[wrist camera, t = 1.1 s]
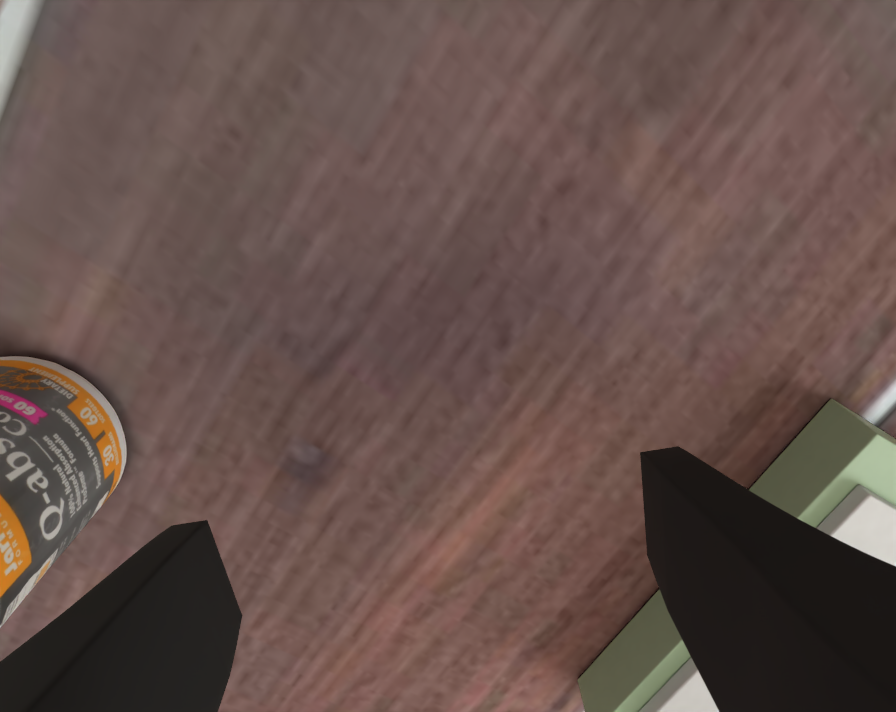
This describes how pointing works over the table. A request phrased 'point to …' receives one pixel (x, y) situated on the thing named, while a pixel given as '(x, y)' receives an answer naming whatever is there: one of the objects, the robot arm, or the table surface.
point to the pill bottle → (49, 467)
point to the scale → (794, 491)
